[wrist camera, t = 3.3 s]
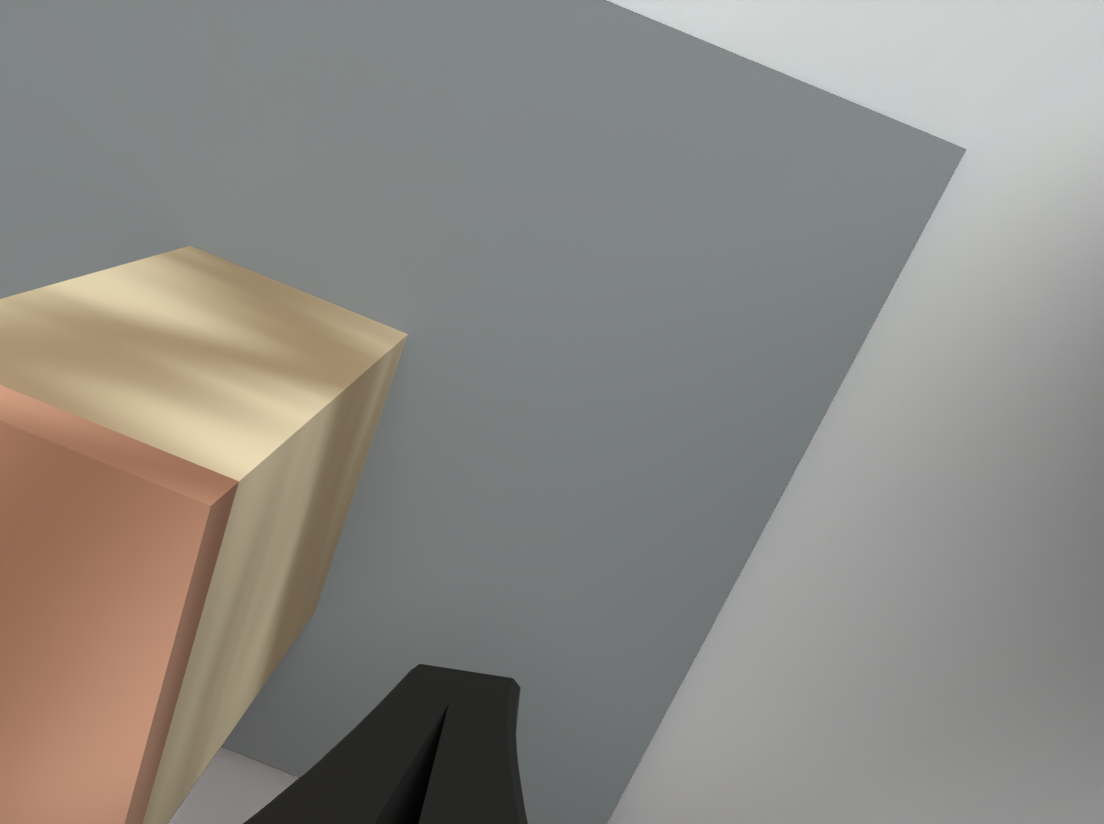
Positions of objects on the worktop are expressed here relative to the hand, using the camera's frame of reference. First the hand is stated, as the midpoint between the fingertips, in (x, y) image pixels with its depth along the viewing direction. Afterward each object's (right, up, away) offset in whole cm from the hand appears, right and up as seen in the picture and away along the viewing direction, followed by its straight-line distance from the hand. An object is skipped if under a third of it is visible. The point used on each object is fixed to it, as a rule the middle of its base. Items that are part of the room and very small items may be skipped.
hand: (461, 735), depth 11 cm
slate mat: (-5, +5, +5) cm, 8 cm away
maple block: (-4, +4, +5) cm, 7 cm away
